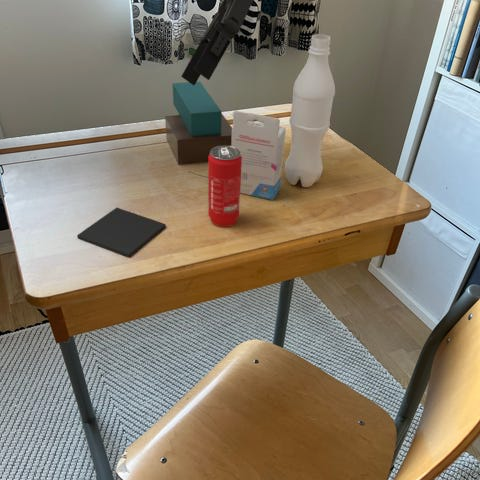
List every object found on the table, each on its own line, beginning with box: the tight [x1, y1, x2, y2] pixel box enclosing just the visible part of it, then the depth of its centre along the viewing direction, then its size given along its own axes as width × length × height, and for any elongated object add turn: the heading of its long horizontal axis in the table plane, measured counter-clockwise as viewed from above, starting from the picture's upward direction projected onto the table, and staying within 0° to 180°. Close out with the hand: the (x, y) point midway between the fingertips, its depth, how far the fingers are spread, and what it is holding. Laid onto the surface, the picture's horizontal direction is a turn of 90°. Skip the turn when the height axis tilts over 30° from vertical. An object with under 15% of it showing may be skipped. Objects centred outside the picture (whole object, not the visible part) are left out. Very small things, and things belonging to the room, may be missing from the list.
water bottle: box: [284, 33, 336, 188], centre depth 90 cm, size 7×7×25 cm
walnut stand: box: [164, 113, 233, 165], centre depth 105 cm, size 12×12×5 cm
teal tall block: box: [172, 81, 223, 136], centre depth 105 cm, size 19×6×4 cm, turn 17°
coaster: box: [76, 207, 167, 258], centre depth 83 cm, size 10×10×1 cm
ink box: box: [231, 110, 287, 201], centre depth 90 cm, size 8×5×15 cm, turn 70°
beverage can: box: [207, 146, 242, 228], centre depth 83 cm, size 5×5×12 cm
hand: (194, 78), depth 86 cm, fingers open, 13 cm apart
